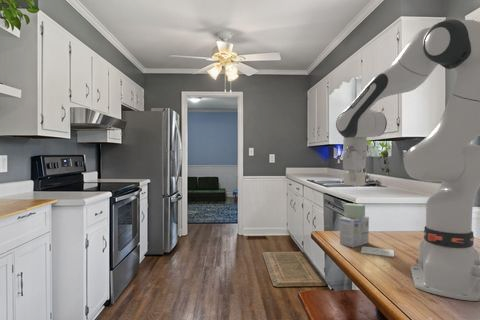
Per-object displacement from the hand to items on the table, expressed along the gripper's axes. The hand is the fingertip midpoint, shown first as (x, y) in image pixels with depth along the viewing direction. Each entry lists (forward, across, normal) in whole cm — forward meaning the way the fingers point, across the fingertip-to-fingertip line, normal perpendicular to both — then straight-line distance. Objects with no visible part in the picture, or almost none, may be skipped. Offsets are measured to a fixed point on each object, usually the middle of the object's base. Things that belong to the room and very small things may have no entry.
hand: (354, 180), depth 126 cm
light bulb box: (+26, 0, 0) cm, 26 cm away
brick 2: (+14, 0, 0) cm, 14 cm away
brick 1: (+2, 0, 0) cm, 2 cm away
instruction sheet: (+25, -6, -10) cm, 28 cm away
